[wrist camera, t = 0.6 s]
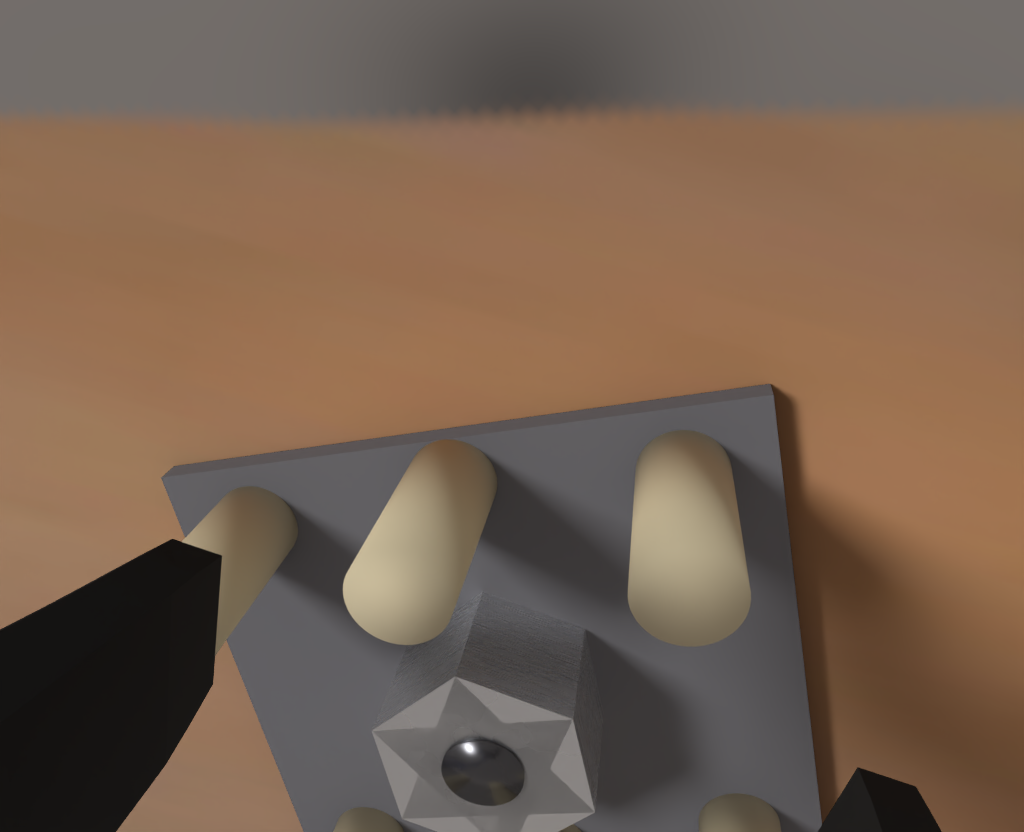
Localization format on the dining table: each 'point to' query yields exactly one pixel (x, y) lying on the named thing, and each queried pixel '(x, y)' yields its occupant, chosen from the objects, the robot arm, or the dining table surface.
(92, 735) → the robot arm
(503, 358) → the dining table surface
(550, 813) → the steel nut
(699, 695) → the spacer field
